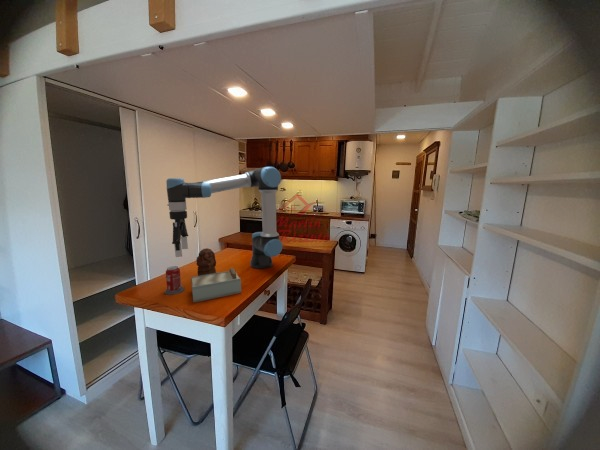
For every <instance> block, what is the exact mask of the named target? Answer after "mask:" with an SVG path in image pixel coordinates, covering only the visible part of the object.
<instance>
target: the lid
mask: <svg viewBox="0 0 600 450" xmlns="http://www.w3.org/2000/svg"><path fill="white" fill-rule="evenodd" d="M234 270H235V269H234V268H233V267H230V268H229V271H230V272H226V271H225V272H226V273H220V272H219V273H220V274H214V275H208V276H202V277H196V278H192V282H191V285H192V284H193V287H194V286H200V285H205V284H211V283H216V282H222V281H228V280H233V279H239V278H240V277H239V275H238V273H237V272H236V270H235V271H234Z"/></svg>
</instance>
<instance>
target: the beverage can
mask: <svg viewBox="0 0 600 450" xmlns="http://www.w3.org/2000/svg"><path fill="white" fill-rule="evenodd" d="M165 280H166V281H165V282H166V289H167V290H168V291H170V292H176V291H178V290H180V288H181V286H182V278H181V269H180V267H179V266H177V265H172V266H168V267H167V268H166V270H165Z"/></svg>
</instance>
